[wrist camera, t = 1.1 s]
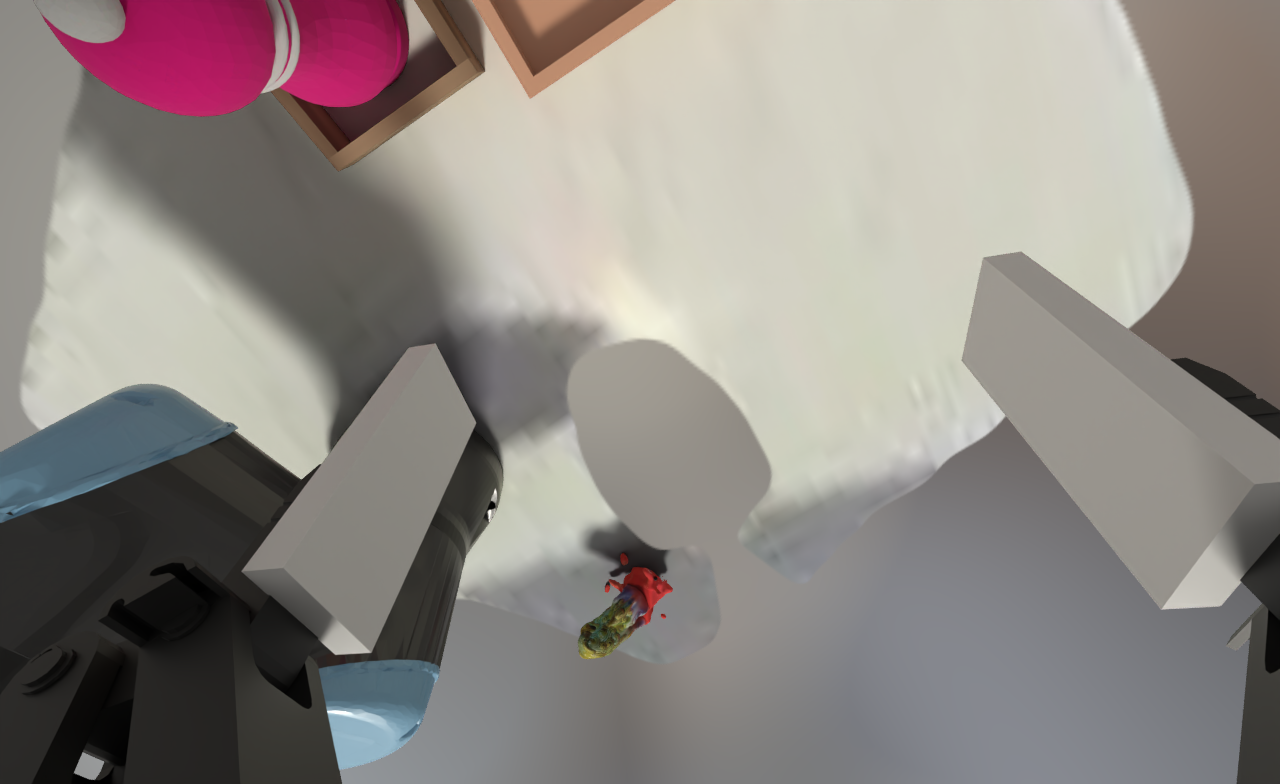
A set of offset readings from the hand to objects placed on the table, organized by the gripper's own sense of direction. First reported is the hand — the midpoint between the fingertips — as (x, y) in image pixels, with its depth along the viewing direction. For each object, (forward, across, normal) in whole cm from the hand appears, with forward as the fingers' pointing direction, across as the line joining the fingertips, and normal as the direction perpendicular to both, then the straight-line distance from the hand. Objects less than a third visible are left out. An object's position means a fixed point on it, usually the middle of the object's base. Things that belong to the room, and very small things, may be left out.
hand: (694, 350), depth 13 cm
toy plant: (+23, +12, +44) cm, 51 cm away
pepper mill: (+25, +18, -9) cm, 32 cm away
